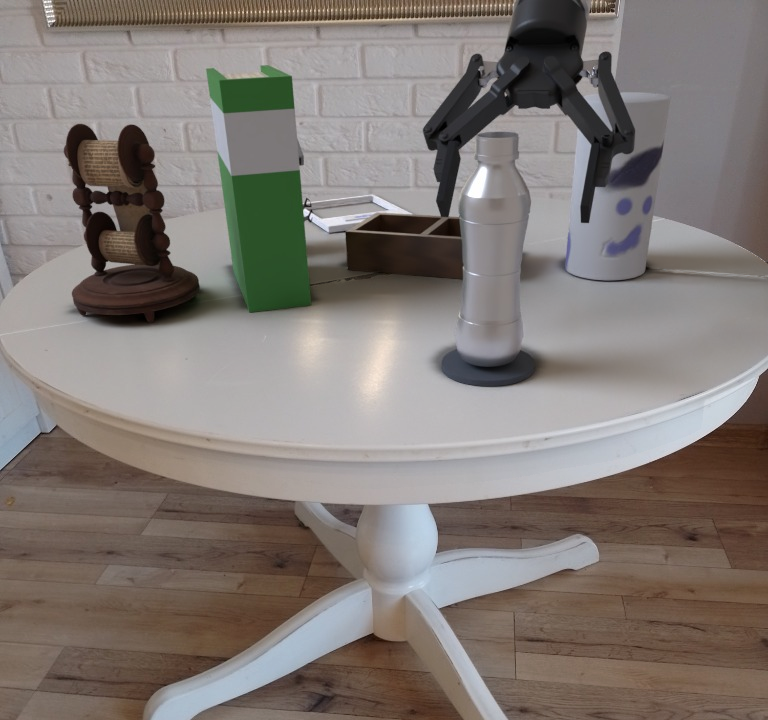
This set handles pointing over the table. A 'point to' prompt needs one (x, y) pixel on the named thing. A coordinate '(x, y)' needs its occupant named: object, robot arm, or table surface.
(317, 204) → the photo frame
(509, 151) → the silver bottle
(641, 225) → the container
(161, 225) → the scroll
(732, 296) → the table surface
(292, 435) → the table surface
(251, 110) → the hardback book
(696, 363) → the table surface
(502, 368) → the coaster
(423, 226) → the wooden compartment box
